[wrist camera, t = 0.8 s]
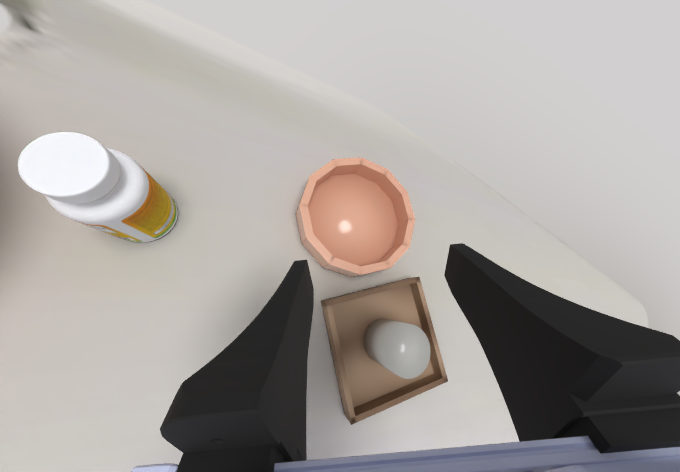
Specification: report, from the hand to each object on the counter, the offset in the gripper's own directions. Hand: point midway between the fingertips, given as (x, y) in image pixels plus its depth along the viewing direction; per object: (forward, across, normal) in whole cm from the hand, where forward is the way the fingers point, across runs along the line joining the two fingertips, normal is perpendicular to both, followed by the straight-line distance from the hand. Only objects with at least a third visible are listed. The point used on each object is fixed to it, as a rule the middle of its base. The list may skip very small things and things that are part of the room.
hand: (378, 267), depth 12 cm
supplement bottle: (+11, +20, +1) cm, 23 cm away
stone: (+6, -1, +15) cm, 17 cm away
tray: (+6, -1, +16) cm, 17 cm away
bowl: (+15, 0, +6) cm, 16 cm away
